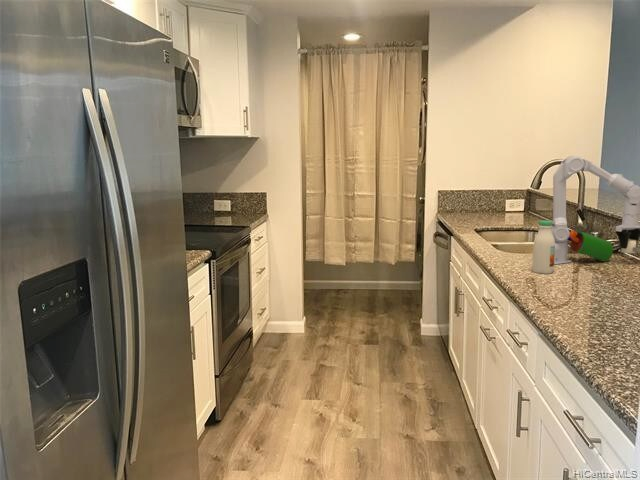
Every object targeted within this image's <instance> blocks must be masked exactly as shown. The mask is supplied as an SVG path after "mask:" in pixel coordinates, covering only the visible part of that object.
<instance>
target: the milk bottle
mask: <svg viewBox="0 0 640 480" xmlns="http://www.w3.org/2000/svg"><path fill="white" fill-rule="evenodd" d="M551 227H552V220H546V219H545V220H539V222H538V228H539V229H538V231H537V233H536V235H535V237H534V240H533V248H532V261H531V262H532V264H531V266H532V267H531V270H532V272H533V273H535V274H536V273H537V274H543V275H544V274H545V275H546V274H548V275H550V274H552V273H553V272H554V268H555V264H554V255H555V240H554V237H553V235H552V231H551Z"/></svg>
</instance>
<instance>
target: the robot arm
mask: <svg viewBox="0 0 640 480" xmlns="http://www.w3.org/2000/svg"><path fill="white" fill-rule="evenodd" d="M560 162H561V163H560V164H559V166H558V167H557V168H556V170H555V172H554V174H553V176H552V177H553V178H552V179H553V180H552V185H553V187H552V191H553V192H552V203H553V204H552V205H553V207H552V210H553V213H552V215H553V216H552V217H553V218H552V220H551V221H552V227H551V231H552V235H553V237H554V240H555V255H554V265H561V264H567V263H569V264H570V263H572V260H570V259H568V253H569V252H568V251H569V241H568V240H567V239H568V238H569V235H570V232H571V231H570V230H569V228H568V221H567V180H568V179H569V178H570V177H572V176H573V175H575V174H577V173H580V172H588V173H591V174H592V175H593V176H596V177H598V178H600V179H601V180H604V181H605V182H606V185H607V187H609V188H611V189H613V190H614V191H616V192H618V194H619V193H620V194H622V196H623V197H624V200H623V201H624V202H623V210H622V222H621V224H620V225H616V226H615V233H616V236H617V238H618V240H619V245H620V249H621V248H625V249H626V248H627V245H628V240H629V239H633V240H636V245H638V244H637V243H638V242H639V240H640V223H639V221H640V220H639V219H640V185H637V184H635V182H634V181H633V180H629V179H627V178H625V177H624V174H621V173H613V174H611V173H610V172H608V171H607V170H605V169H603V168H602V167H600V166H598V165H597V164H595V163H593V161H589V160H587V159H585V158H582V157H580V156H575V155H569V156H567V157H566V158H565V159H563V160H561V161H560Z"/></svg>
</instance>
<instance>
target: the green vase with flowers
mask: <svg viewBox="0 0 640 480" xmlns="http://www.w3.org/2000/svg"><path fill="white" fill-rule="evenodd" d="M569 232H570V235H569V238H568V239H567V240H568V242H570V244H569V246H570V249H571V251H573V252H576V253H577V254H578V253H579V254H581V255H585V256H587V257H591V258H593V259H594V260H598V261H601V262H602V261H603V262H606V263H607V262H608V261H609V260H610V259H611V258H612V256H613V252H614V247H613V244H612V243H611V242H610V241H609V240H607V239H604V238H601V237H598V236H595V235H592V234H589V233H587V232H583V231H581V230H572V229H571V231H569Z"/></svg>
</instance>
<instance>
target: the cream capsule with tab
mask: <svg viewBox="0 0 640 480" xmlns="http://www.w3.org/2000/svg"><path fill="white" fill-rule="evenodd" d="M639 252H640V247H637V244H636V240H633V239H629V240H628V245H627V248H626V249H625V248H621V247H620V253H625V254H635V253H639Z"/></svg>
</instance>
